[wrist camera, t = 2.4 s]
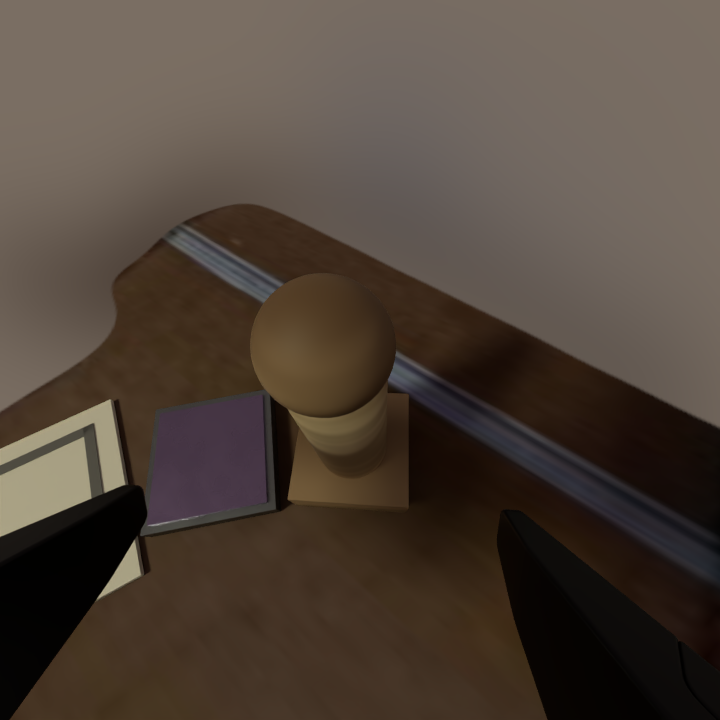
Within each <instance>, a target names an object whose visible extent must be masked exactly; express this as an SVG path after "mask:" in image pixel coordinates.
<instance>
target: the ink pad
mask: <svg viewBox="0 0 720 720" xmlns="http://www.w3.org/2000/svg"><path fill="white" fill-rule="evenodd" d="M145 501H146V506H147V512H148V514H147V519H146V522H145V524H144V525H143V527H142V529H141V534H140V536H146V537H154V536H159V535H164V534H169V533H174V532H179V531H184V530H189V529H194V528H199V527H204V526H210V525H215V524H220V523H225V522H230V521H235V520H240V519H245V518H250V517H255V516H260V515H265V514H270V513H275V512H280V511H281V507H280V489H279V472H278V455H277V438H276V420H275V403H274V398H273V397H272V396H271V395H270V394H269V393H268V392H267V391H266V390H260V391H255V392H250V393H244V394H239V395H233V396H228V397H223V398H217V399H212V400H206V401H201V402H196V403H190V404H185V405H179V406H174V407H169V408H163V409H158V410H156V414H155V422H154V430H153V438H152V446H151V454H150V462H149V470H148V478H147V486H146V494H145Z"/></svg>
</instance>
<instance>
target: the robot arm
mask: <svg viewBox="0 0 720 720" xmlns="http://www.w3.org/2000/svg"><path fill="white" fill-rule="evenodd" d="M147 514H148V512H147V506H146V501H145V496H144V491H143V489H142V487H140V486H138V485H122V486H120V487H118V488H115V489H113V490H110V491H108V492H106V493H103V494H101V495H98V496H96V497H94V498H91V499H89V500H87V501H84V502H82V503H79V504H77V505H75V506H72V507H70V508H68V509H65V510H63V511H60V512H58V513H56V514H53V515H51V516H49V517H46V518H44V519H41V520H39V521H37V522H34V523H32V524H29V525H27V526H25V527H22V528H20V529H18V530H15V531H13V532H10V533H8V534H6V535H3V536H1V537H0V720H10V718H11V717H12V716H13V714H14V713H15V711H16V710H17V709H18V707H19V706H20V705H21V703H22V702H23V700H24V699H25V698H26V696H27V695H28V693H29V692H30V691H31V689H32V688H33V687H34V685H35V684H36V682H37V681H38V680H39V678H40V677H41V676H42V674H43V673H44V671H45V670H46V669H47V667H48V666H49V664H50V663H51V662H52V660H53V659H54V658H55V656H56V655H57V653H58V652H59V651H60V649H61V648H62V646H63V645H64V644H65V642H66V641H67V640H68V638H69V637H70V635H71V634H72V633H73V631H74V630H75V628H76V627H77V626H78V624H79V623H80V622H81V620H82V619H83V617H84V616H85V615H86V613H87V612H88V611H89V609H90V608H91V606H92V605H93V604H94V602H95V601H96V599H97V598H98V597H99V595H100V594H101V593H102V591H103V590H104V588H105V587H106V585H107V584H108V582H109V581H110V579H111V578H112V576H113V575H114V573H115V571H116V570H117V568H118V567H119V565H120V563H121V562H122V560H123V558H124V557H125V555H126V553H127V552H128V550H129V548H130V547H131V545H132V543H133V542H134V540H135V539H136V537H137V535H138V534H139V532H140V530H141V529H142V527H143V525H144V524H145V522H146V519H147ZM497 547H498V552H499V557H500V561H501V565H502V570H503V574H504V578H505V583H506V587H507V592H508V596H509V600H510V605H511V609H512V613H513V617H514V620H515V624H516V627H517V630H518V633H519V636H520V639H521V642H522V645H523V648H524V651H525V654H526V657H527V660H528V663H529V666H530V669H531V672H532V675H533V678H534V681H535V684H536V687H537V690H538V693H539V696H540V699H541V702H542V705H543V708H544V711H545V714H546V716H547V719H548V720H720V672H719V671H718V670H717V669H715V668H714V667H713V666H712V665H710V664H709V663H708V662H707V661H705V660H704V659H703V658H702V657H700V656H699V655H698V654H697V653H696V652H694V651H693V650H692V649H691V648H689V647H688V646H687V645H686V644H684V643H683V642H681V641H679V642H678V639H677V638H676V636H674V635H673V634H672V633H671V632H669V631H668V630H667V629H666V628H664V627H663V626H662V625H661V624H660V623H658V622H657V621H656V620H655V619H653V618H652V617H651V616H650V615H648V614H647V613H646V612H645V611H644V610H642V609H641V608H640V607H639V606H637V605H636V604H635V603H634V602H632V601H631V600H630V599H629V598H628V597H626V596H625V595H624V594H623V593H621V592H620V591H619V590H618V589H616V588H615V587H614V586H613V585H612V584H610V583H609V582H608V581H607V580H605V579H604V578H603V577H602V576H600V575H599V574H598V573H597V572H596V571H594V570H593V569H592V568H591V567H589V566H588V565H587V564H586V563H584V562H583V561H582V560H581V559H579V558H578V557H577V556H576V555H575V554H573V553H572V552H571V551H570V550H568V549H567V548H566V547H565V546H563V545H562V544H561V543H560V542H559V541H557V540H556V539H555V538H554V537H552V536H551V535H550V534H549V533H547V532H546V531H545V530H544V529H543V528H541V527H540V526H539V525H538V524H536V523H535V522H534V521H533V520H531V519H530V518H529V517H528V516H527V515H525V514H524V513H523V512H521V511H519V510H507V509H504V510H502V511H501V514H500V520H499V527H498V534H497Z"/></svg>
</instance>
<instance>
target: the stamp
mask: <svg viewBox="0 0 720 720" xmlns="http://www.w3.org/2000/svg"><path fill="white" fill-rule="evenodd" d="M250 351H251V359H252V363H253V366H254V370H255V372H256V374H257V377H258V379H259V381H260V382H261V384H262V386H263V387H264V388H265V390H266V391H267V392H268V393H269V394H270V395H271V396H272V397H273V398H274V400H276V401H277V402H278V403H279V404H281V405H282V406H284V407H286V408H287V409H288V411H289V412H290V414H291V415H292V417H293V418H294V420H295V421H296V423H297V424H298V426H299V431H298V437H297V443H296V449H295V456H294V462H293V468H292V475H291V481H290V487H289V493H288V500H289V501H291V502H293V503H294V504H296V505H298V506H312V507H327V508H342V509H356V510H371V511H386V512H401V513H406V512H407V510H408V508H409V394H400V393H387V390H388V378H389V376H390V373H391V371H392V368H393V364H394V360H395V354H396V339H395V332H394V327H393V324H392V321H391V318H390V316H389V314H388V312H387V310H386V309H385V307H384V305H383V304H382V303H381V301H380V300H379V299H378V298H377V297H376V296H375V295H374V294H373V293H372V292H371V291H370V290H369V289H368V288H366V287H365V286H364V285H362V284H360V283H358V282H357V281H355V280H353V279H350V278H348V277H345V276H341V275H336V274H330V273H315V274H309V275H304V276H301V277H298V278H295V279H293V280H291V281H289V282H287V283H285V284H284V285H282V286H281V287H280V288H278V289H277V290H276V291H275V292H274V293H272V294H271V295H270V296H269V298H268V299H267V300H266V301H265V302H264V304H263V305H262V307H261V309H260V310H259V312H258V314H257V316H256V318H255V321H254V324H253V328H252V333H251V342H250Z"/></svg>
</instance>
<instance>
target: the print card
mask: <svg viewBox="0 0 720 720" xmlns="http://www.w3.org/2000/svg"><path fill="white" fill-rule="evenodd" d="M122 485H128V480H127V474H126V468H125V463H124V457H123V451H122V446H121V440H120V435H119V429H118V423H117V418H116V412H115V407H114V401H112V400H111V399H110V400H108V401H106V402H103V403H101V404H99V405H97V406H95V407H92V408H90V409H88V410H86V411H83V412H81V413H79V414H77V415H75V416H72V417H70V418H68V419H66V420H63V421H61V422H59V423H57V424H55V425H52V426H50V427H48V428H46V429H43V430H41V431H39V432H37V433H35V434H32V435H30V436H28V437H26V438H23V439H21V440H19V441H17V442H15V443H12V444H10V445H8V446H6V447H3V448H1V449H0V537H1V536H3V535H6V534H8V533H10V532H13V531H15V530H18V529H20V528H22V527H25V526H27V525H29V524H32V523H34V522H37V521H39V520H41V519H44V518H46V517H49V516H51V515H53V514H56V513H58V512H60V511H63V510H65V509H68V508H70V507H72V506H75V505H77V504H79V503H82V502H84V501H87V500H89V499H91V498H94V497H96V496H98V495H101V494H103V493H106V492H108V491H110V490H113V489H115V488H118V487H120V486H122ZM143 575H144V569H143V564H142V558H141V553H140V547H139V541H138V536H137V537H136V539H135V540H134V542H133V543H132V545H131V547H130V548H129V550H128V552H127V553H126V555H125V557H124V558H123V560H122V562H121V563H120V565H119V567H118V568H117V570H116V571H115V573H114V575H113V576H112V578H111V579H110V581H109V582H108V584H107V585H106V587H105V588H104V590H103V591H102V593H101V594H100V595H99V597H98V598H97V599H96V601H98V600H100V599H102V598H104V597H105V596H107V595H109V594H111V593H113V592H114V591H116V590H118V589H120V588H122V587H123V586H125V585H127V584H129V583H131V582H133V581H134V580H136V579H138V578H140V577H142V576H143ZM96 601H95V602H96ZM95 602H94V603H95Z"/></svg>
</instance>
